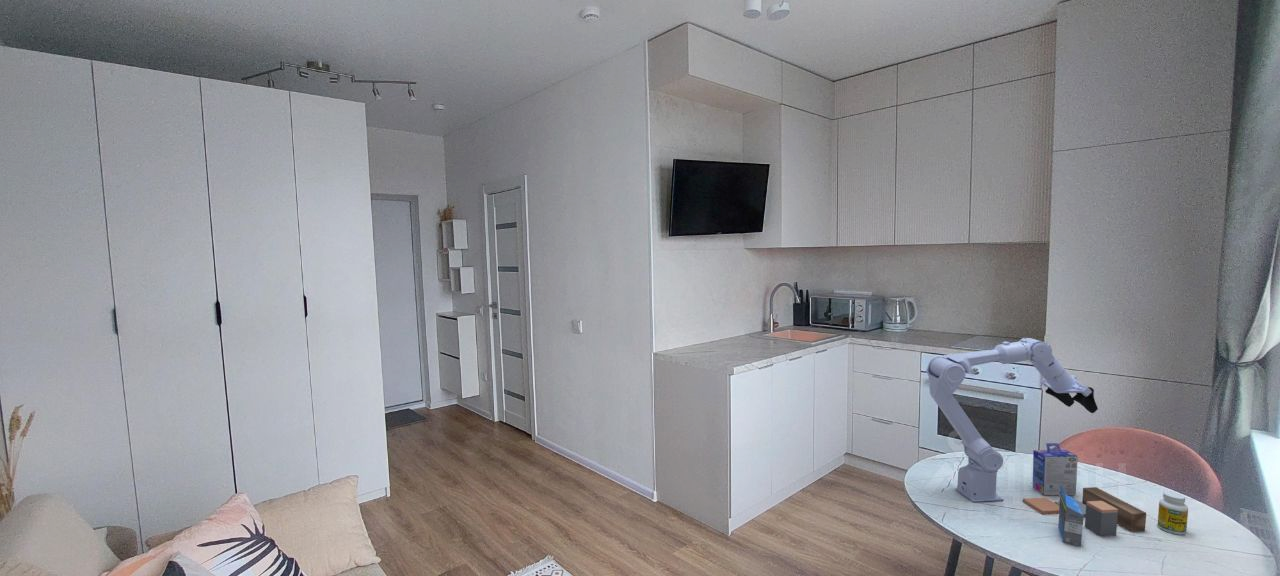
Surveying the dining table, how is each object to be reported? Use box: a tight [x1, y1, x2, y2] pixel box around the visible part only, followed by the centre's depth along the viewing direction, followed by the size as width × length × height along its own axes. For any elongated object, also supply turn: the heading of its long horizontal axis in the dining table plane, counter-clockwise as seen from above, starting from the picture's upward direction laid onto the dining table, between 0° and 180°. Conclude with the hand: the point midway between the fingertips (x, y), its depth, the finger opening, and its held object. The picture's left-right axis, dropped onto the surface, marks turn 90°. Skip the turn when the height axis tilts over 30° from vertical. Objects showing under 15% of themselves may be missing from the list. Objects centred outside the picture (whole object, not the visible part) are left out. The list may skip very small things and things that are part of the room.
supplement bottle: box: [1157, 490, 1189, 535], centre depth 136 cm, size 5×5×10 cm
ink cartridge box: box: [1032, 442, 1079, 496], centre depth 157 cm, size 10×6×14 cm, turn 89°
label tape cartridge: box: [1057, 483, 1085, 547], centre depth 134 cm, size 9×4×12 cm, turn 148°
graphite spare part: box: [1084, 501, 1118, 537], centre depth 136 cm, size 4×4×7 cm
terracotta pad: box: [1022, 496, 1060, 515], centre depth 148 cm, size 7×7×1 cm
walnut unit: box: [1081, 486, 1147, 533], centre depth 143 cm, size 4×14×5 cm, turn 4°
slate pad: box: [1053, 499, 1086, 519], centre depth 146 cm, size 7×7×1 cm
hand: (1082, 407), depth 152 cm, fingers open, 7 cm apart
